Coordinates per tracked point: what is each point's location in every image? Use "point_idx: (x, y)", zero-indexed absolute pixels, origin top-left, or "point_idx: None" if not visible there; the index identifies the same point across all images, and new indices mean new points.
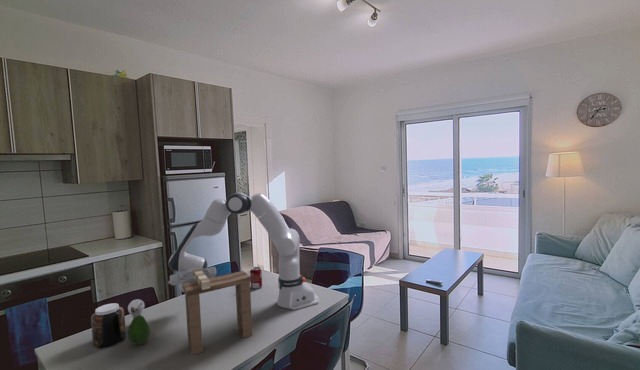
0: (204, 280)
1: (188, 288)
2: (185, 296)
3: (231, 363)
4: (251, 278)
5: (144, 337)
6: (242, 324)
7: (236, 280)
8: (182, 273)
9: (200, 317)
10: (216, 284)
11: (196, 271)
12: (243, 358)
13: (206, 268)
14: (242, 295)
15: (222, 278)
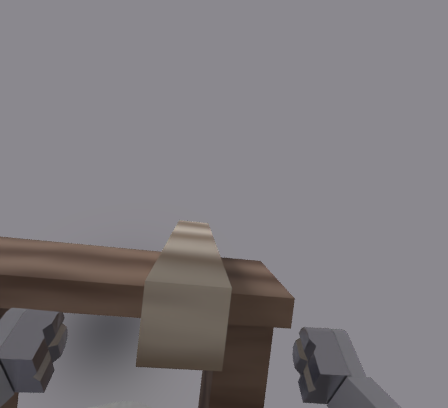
0: (195, 224)
1: (255, 269)
2: (268, 346)
3: (139, 404)
4: None
5: None
6: None
7: (53, 242)
8: (344, 344)
9: (202, 373)
10: (141, 251)
11: (203, 255)
12: (105, 404)
13: (39, 311)
14: None
15: (74, 261)
